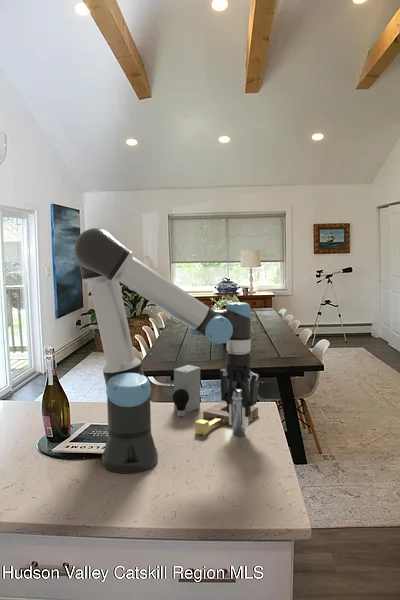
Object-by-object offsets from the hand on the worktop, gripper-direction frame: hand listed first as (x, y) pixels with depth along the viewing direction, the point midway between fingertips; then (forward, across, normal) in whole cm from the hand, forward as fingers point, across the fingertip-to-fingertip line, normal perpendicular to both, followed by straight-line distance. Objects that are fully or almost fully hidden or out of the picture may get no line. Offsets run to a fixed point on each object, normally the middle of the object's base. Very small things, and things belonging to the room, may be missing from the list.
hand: (238, 424), depth 151 cm
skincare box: (+3, +28, -11) cm, 30 cm away
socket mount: (+3, +10, -12) cm, 16 cm away
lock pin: (+3, +10, +1) cm, 11 cm away
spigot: (+3, 0, 0) cm, 3 cm away
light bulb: (+3, +25, -3) cm, 25 cm away
